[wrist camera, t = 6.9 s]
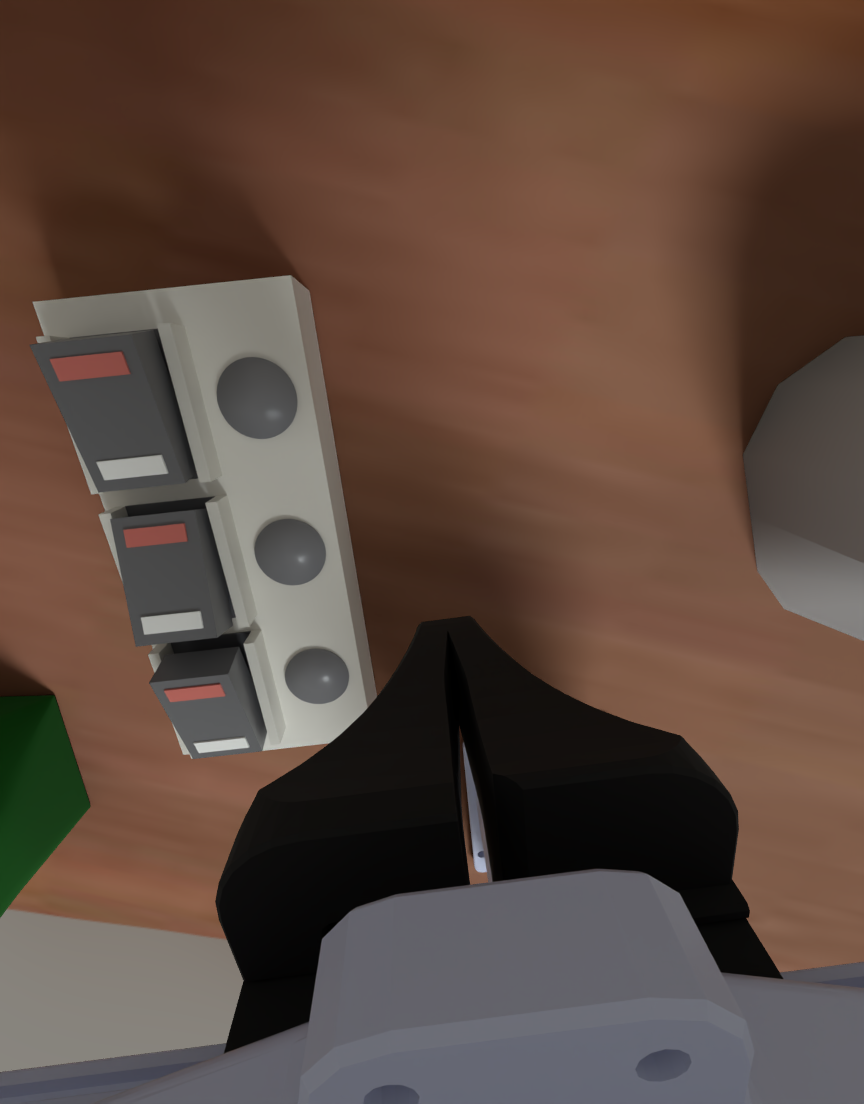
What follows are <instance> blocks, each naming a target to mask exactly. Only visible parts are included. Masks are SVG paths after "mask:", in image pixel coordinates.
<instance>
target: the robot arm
mask: <svg viewBox="0 0 864 1104" xmlns="http://www.w3.org/2000/svg"><path fill="white" fill-rule="evenodd" d="M459 725H460V729H461V733H462V737H463V741H464V742H463V755H464V766H465V776H466V786H467V797H468V807H469V817H470V828H471V838H472V848H473V859H474V867H475V869H476V870H477V871H479V872H487V876H488V882H489V883H481V884H473V885H470V881H469V872H468V864H467V856H466V848H465V839H464V831H463V821H462V807H461V773H460V738H459ZM738 830H739V826H738V810H737V808H736V806H735V803H734V801H733V799H732V797H731V794H730V793H729V792H728V790H727V789H726V788H725V786H724V785H723V784H722V783H721V781H720V780H719V779H718V777H717V776H716V775H715V773H714V772H713V771H712V770H711V768H710V767H709V766H708V765H707V764H706V762H705V761H704V760H703V759H702V758H701V757H700V756H699V755H698V754H697V752H696V751H695V750H694V749H693V748H692V747H691V746H690V745H689V744H688V743H687V742H686V741H685V740H684V738H683V737H682V736H680V735H677V734H673V733H669V732H666V731H662V730H659V729H655V728H651V727H648V726H644V725H641V724H637V723H634V722H631V721H628V720H625V719H622V718H620V717H617V716H614V715H611V714H609V713H606V712H603V711H601V710H599V709H596V708H594V707H591V706H589V705H587V704H585V703H583V702H581V701H579V700H576V699H574V698H572V697H570V696H568V695H566V694H564V693H562V692H561V691H559V690H557V689H555V688H553V687H552V686H550V685H549V684H547V683H545V682H544V681H542V680H541V679H539V678H537V677H536V676H534V675H533V674H531V673H530V672H529V671H527V670H526V669H525V668H523V667H522V666H521V665H520V664H518V663H517V662H516V661H515V660H514V659H512V658H511V657H510V656H509V655H508V654H507V653H506V652H505V651H503V650H502V649H501V648H500V647H499V646H498V645H497V644H496V643H495V642H494V641H493V640H492V639H491V638H490V637H489V636H488V635H487V634H486V633H485V632H484V630H483V629H482V628H481V627H480V626H479V625H478V623H477V622H476V621H475V619H473V618H472V617H471V616H466V617H458V618H450V619H442V620H434V621H426V622H421V623H420V624H419V626H418V627H417V630H416V633H415V635H414V638H413V640H412V642H411V644H410V646H409V648H408V650H407V652H406V654H405V655H404V657H403V659H402V661H401V662H400V664H399V666H398V668H397V669H396V671H395V672H394V674H393V675H392V677H391V678H390V680H389V681H388V683H387V684H386V685H385V687H384V688H383V690H382V691H381V692H380V694H379V695H378V696H377V697H376V699H375V700H374V701H373V702H372V703H371V705H370V706H369V707H368V708H367V709H366V710H365V711H364V713H363V714H362V715H360V716H359V717H358V718H357V719H356V720H355V721H354V722H353V723H352V724H351V725H350V726H349V727H348V728H347V729H346V730H345V731H344V732H342V733H341V734H340V735H339V736H338V737H337V738H335V739H334V740H333V741H332V742H331V743H329V744H328V745H327V746H326V747H324V748H323V749H322V750H320V751H319V752H318V753H316V754H315V755H314V756H312V757H311V758H309V759H308V760H307V761H305V762H304V763H302V764H301V765H299V766H298V767H296V768H294V769H293V770H291V771H290V772H288V773H286V774H285V775H283V776H282V777H280V778H278V779H277V780H275V781H274V782H272V783H270V784H269V785H267V786H265V787H263V788H262V789H260V790H259V791H258V793H257V795H256V797H255V799H254V801H253V803H252V805H251V807H250V809H249V811H248V812H247V814H246V816H245V818H244V821H243V823H242V825H241V827H240V829H239V831H238V834H237V836H236V839H235V842H234V844H233V847H232V850H231V852H230V855H229V857H228V860H227V863H226V865H225V868H224V871H223V873H222V876H221V879H220V881H219V885H218V890H217V896H216V901H215V902H216V907H217V912H218V917H219V921H220V923H221V926H222V928H223V931H224V933H225V936H226V938H227V941H228V943H229V946H230V948H231V951H232V953H233V955H234V958H235V960H236V963H237V965H238V968H239V970H240V973H241V975H242V978H243V980H244V982H243V985H242V989H241V992H240V996H239V1000H238V1003H237V1007H236V1011H235V1014H234V1018H233V1021H232V1025H231V1029H230V1032H229V1036H228V1040H227V1043H226V1044H217V1045H209V1046H201V1047H193V1048H185V1049H179V1050H170V1051H162V1052H155V1053H147V1054H140V1055H131V1056H123V1057H115V1058H107V1059H99V1060H92V1061H84V1062H76V1063H68V1064H61V1065H53V1066H45V1067H37V1068H29V1069H21V1070H13V1071H5V1072H0V1104H864V962H859V963H851V964H843V965H835V966H827V967H819V968H812V969H804V970H796V971H788V972H779V971H778V969H777V968H776V966H775V964H774V963H773V961H772V959H771V958H770V956H769V955H768V953H767V951H766V950H765V948H764V947H763V945H762V943H761V942H760V940H759V939H758V937H757V935H756V934H755V932H754V930H753V929H752V927H751V926H750V924H749V922H748V921H747V919H746V918H749V913H750V910H749V907H748V904H747V902H746V900H745V899H744V897H743V896H742V894H741V892H740V891H739V889H738V888H737V886H736V885H735V883H734V882H733V880H732V874H733V867H734V860H735V852H736V845H737V838H738Z"/></svg>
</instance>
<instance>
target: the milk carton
mask: <svg viewBox="0 0 864 1104" xmlns="http://www.w3.org/2000/svg"><path fill="white" fill-rule="evenodd" d="M89 808H90V803H89V800H88V796H87V793H86V790H85V787H84V784H83V781H82V778H81V775H80V772H79V769H78V766H77V763H76V760H75V757H74V753H73V750H72V747H71V744H70V741H69V738H68V735H67V732H66V729H65V726H64V723H63V720H62V717H61V714H60V710H59V707H58V704H57V701H56V698H55V696H54V695H44V696H9V697H0V917H1V916H2V915H3V913H4V912H5V911H6V909H7V908H8V907H9V905H10V904H11V903H12V901H13V900H14V899H15V898H16V896H17V895H18V894H19V892H20V891H21V890H22V889H23V888H24V886H25V885H26V884H27V883H28V881H29V880H30V879H31V878H32V877H33V875H34V874H35V873H36V872H37V871H38V869H39V868H40V867H41V866H42V865H43V863H44V862H45V861H46V860H47V859H48V857H49V856H50V855H51V854H52V853H53V851H54V850H55V849H56V848H57V846H58V845H59V844H60V843H61V842H62V840H63V839H64V838H65V837H66V836H67V834H68V833H69V832H70V831H71V830H72V828H73V827H74V826H75V825H76V823H77V822H78V821H79V820H80V819H81V817H82V816H83V815H84V814H85V813H86V811H87V810H88V809H89Z"/></svg>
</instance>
